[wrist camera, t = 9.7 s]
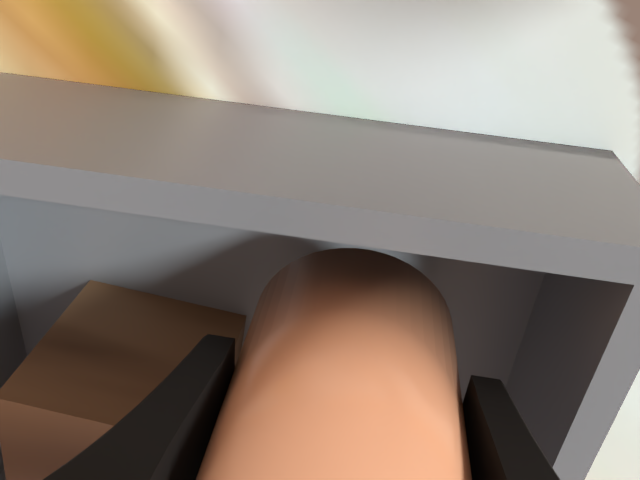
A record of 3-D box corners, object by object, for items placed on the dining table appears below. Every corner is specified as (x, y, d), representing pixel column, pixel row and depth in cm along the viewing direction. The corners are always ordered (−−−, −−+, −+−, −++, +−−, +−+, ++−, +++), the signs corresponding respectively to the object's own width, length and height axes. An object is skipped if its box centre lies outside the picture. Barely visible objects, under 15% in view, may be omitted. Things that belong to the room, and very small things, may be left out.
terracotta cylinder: (411, 424, 16) (419, 736, 10) (238, 374, 16) (140, 660, 10) (485, 283, 14) (555, 588, 8) (279, 222, 13) (182, 484, 7)
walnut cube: (230, 424, 21) (183, 561, 16) (93, 392, 21) (12, 520, 16) (246, 315, 18) (196, 445, 14) (90, 279, 18) (-7, 397, 14)
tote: (485, 491, 22) (505, 638, 17) (32, 416, 23) (-54, 535, 19) (612, 150, 15) (696, 255, 10) (-51, 65, 16) (-220, 128, 12)
